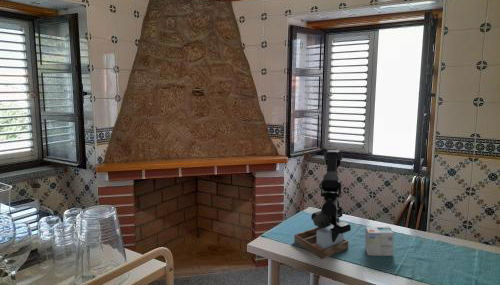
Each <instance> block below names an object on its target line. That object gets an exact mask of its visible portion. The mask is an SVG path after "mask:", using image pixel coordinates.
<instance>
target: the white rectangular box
mask: <svg viewBox="0 0 500 285" xmlns="http://www.w3.org/2000/svg"><path fill="white" fill-rule="evenodd" d="M332 228H333V225H331V226H328V227H325V228H322V229H319V230H317V246H319V247H320V248H322V250H324V249H326V248H329V247H332V246H334V245H337V244H339V243H342V242H343V238H344V233H342V234H340V233H339V235H338V237H337V238H336V240H335V242H332V231H331V230H330V229H332Z"/></svg>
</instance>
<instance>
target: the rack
mask: <svg viewBox="0 0 500 285" xmlns="http://www.w3.org/2000/svg"><path fill="white" fill-rule="evenodd" d="M319 229H322V228H319V227H318V226H315V227H314V228H311V229H308V230H305V231H302V232H299V233H296V234H294V235H293V236H294V243H296V244H297V245H299V246H300V247H302V248H303V249H306V251H308V252H309V253H312V254H313V255H315V256H316V257H318V258H320V259H325V258H328V257H331V256H333V255H335V254H338V253H341V252H343V251H345V250H348V249H349V240H348V239H345V238H344V237H343V242H342V243H339V244H337V245H334V246H332V247H329V248H326V249H324V250H322V248H320V247H319V246H317V230H319Z"/></svg>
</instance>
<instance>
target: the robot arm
mask: <svg viewBox="0 0 500 285" xmlns="http://www.w3.org/2000/svg"><path fill="white" fill-rule="evenodd" d="M323 160H325V165H326V173H325V174H324V175H323V178H322V179H323V180H321V184H320V185H321V187H320V197H323V203H322V206H321V209H320V210H319V211H316V212H315V211H314V212H312V214H311V219H310V220H312V221H313V224H314V226H315V227H319V228H325V227H328V226H331V225H333V228H332V229H330V230H331V231H332V242H335V240H336V238H337V237H338V235H339V233H340V234H342V233H343V234H345V233H347V232H350V231H351V230H352V229H351V227H352V226H351V224H350V223H347V222H346V221H340V218H342V217H343V215H344V214H343V212H344V211H343V208H342V205H341V201H340V199H339V198H340V195H342V183H341V181H340V180H339V175H338V168H339V167H340V165H341V161H343V152H341V151H340V150H332V149H331V150H329V149H327V150H326V151H324V153H323Z"/></svg>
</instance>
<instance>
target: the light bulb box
mask: <svg viewBox="0 0 500 285" xmlns="http://www.w3.org/2000/svg"><path fill="white" fill-rule="evenodd" d="M364 229H365V230H364V232H365V237H364V238H365V239H364V250H365V251H366V254H367V256H377V257H378V256H379V257H380V256H381V257H382V256H383V257H384V256H385V257H386V256H387V257H388V256H389V257H393V256H394V235H395V233H394V231H393V230H392V228H391V227H390V225H389V226H368V225H367V226H365V228H364Z"/></svg>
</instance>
